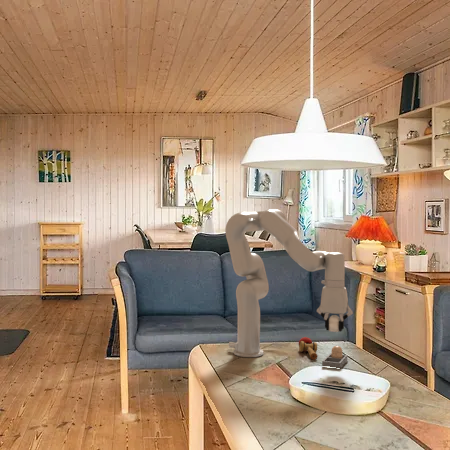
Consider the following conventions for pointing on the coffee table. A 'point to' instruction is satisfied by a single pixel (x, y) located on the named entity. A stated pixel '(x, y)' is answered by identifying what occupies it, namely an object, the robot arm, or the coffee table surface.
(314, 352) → the kendama
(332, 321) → the egg
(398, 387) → the coffee table surface
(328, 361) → the carton
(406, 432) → the coffee table surface
